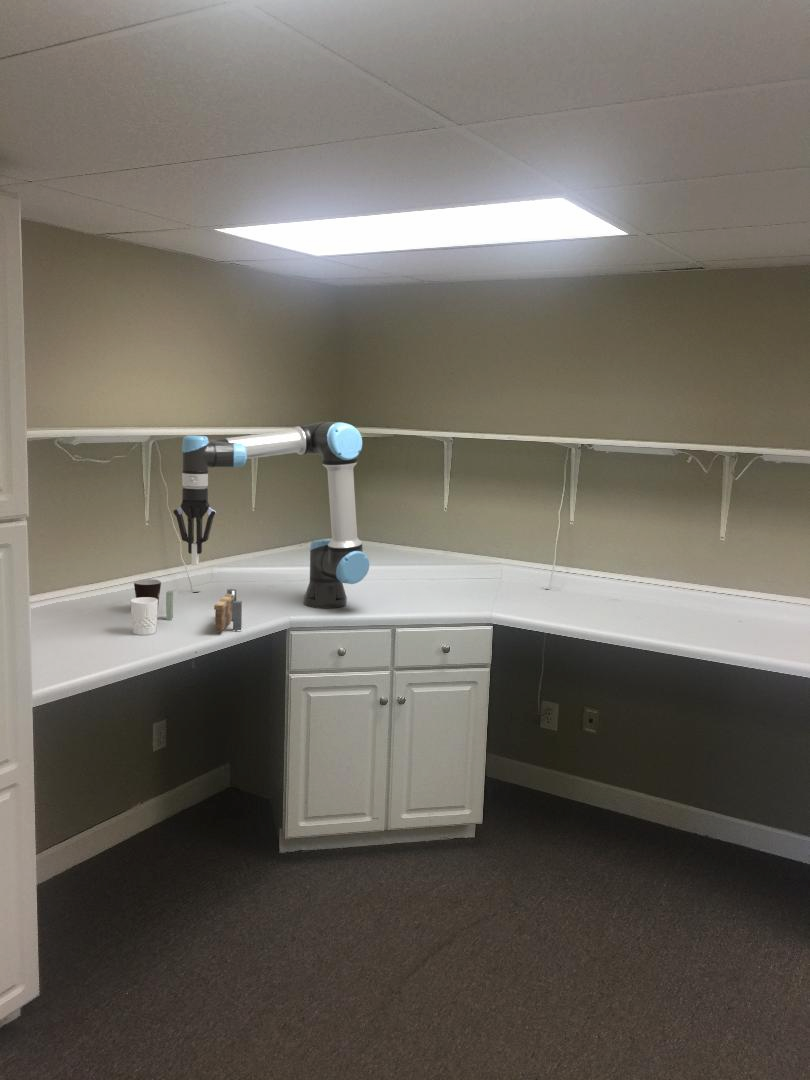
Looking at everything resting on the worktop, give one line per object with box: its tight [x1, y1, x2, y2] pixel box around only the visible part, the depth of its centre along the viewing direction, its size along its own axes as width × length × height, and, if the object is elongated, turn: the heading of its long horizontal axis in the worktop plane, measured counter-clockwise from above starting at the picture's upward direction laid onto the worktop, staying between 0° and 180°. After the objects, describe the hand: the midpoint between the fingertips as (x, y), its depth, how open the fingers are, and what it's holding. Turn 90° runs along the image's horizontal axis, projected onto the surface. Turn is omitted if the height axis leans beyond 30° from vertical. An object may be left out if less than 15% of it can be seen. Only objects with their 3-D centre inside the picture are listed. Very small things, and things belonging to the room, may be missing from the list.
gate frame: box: [165, 588, 243, 631], centre depth 272 cm, size 25×15×10 cm, turn 95°
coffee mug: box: [133, 578, 162, 605], centre depth 286 cm, size 12×9×10 cm
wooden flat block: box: [213, 593, 234, 633], centre depth 268 cm, size 16×2×8 cm, turn 179°
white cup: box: [130, 597, 159, 636], centre depth 260 cm, size 8×8×10 cm
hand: (195, 564), depth 264 cm, fingers closed
